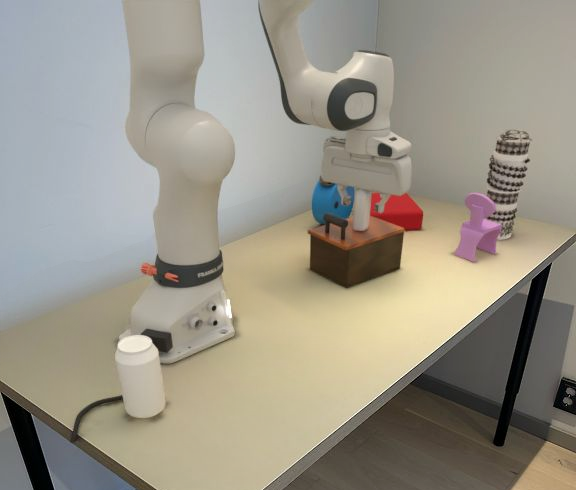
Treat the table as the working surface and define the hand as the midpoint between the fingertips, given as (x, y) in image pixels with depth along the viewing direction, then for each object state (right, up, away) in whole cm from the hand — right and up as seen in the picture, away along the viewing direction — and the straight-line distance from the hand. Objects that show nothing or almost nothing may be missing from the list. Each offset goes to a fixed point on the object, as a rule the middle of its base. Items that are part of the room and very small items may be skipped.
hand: (362, 208), depth 127 cm
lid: (-1, -5, +2) cm, 5 cm away
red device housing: (+11, +7, +35) cm, 37 cm away
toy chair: (+29, -7, +15) cm, 34 cm away
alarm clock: (-4, +5, +32) cm, 32 cm away
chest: (-1, -12, +7) cm, 14 cm away
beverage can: (-38, -42, -36) cm, 67 cm away
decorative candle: (+38, +1, +26) cm, 46 cm away
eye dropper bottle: (0, -4, +3) cm, 4 cm away
